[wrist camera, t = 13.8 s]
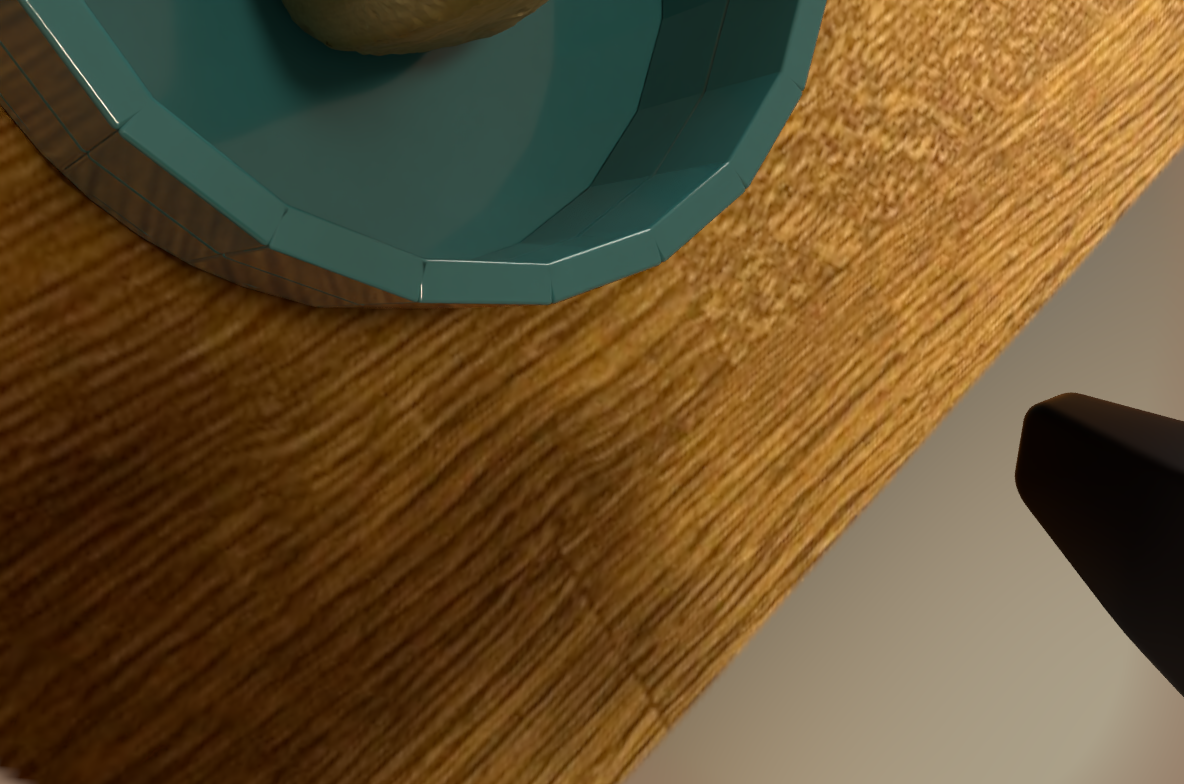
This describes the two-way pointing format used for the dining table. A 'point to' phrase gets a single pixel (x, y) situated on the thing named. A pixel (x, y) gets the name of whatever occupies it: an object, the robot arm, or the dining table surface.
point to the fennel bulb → (405, 22)
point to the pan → (409, 139)
